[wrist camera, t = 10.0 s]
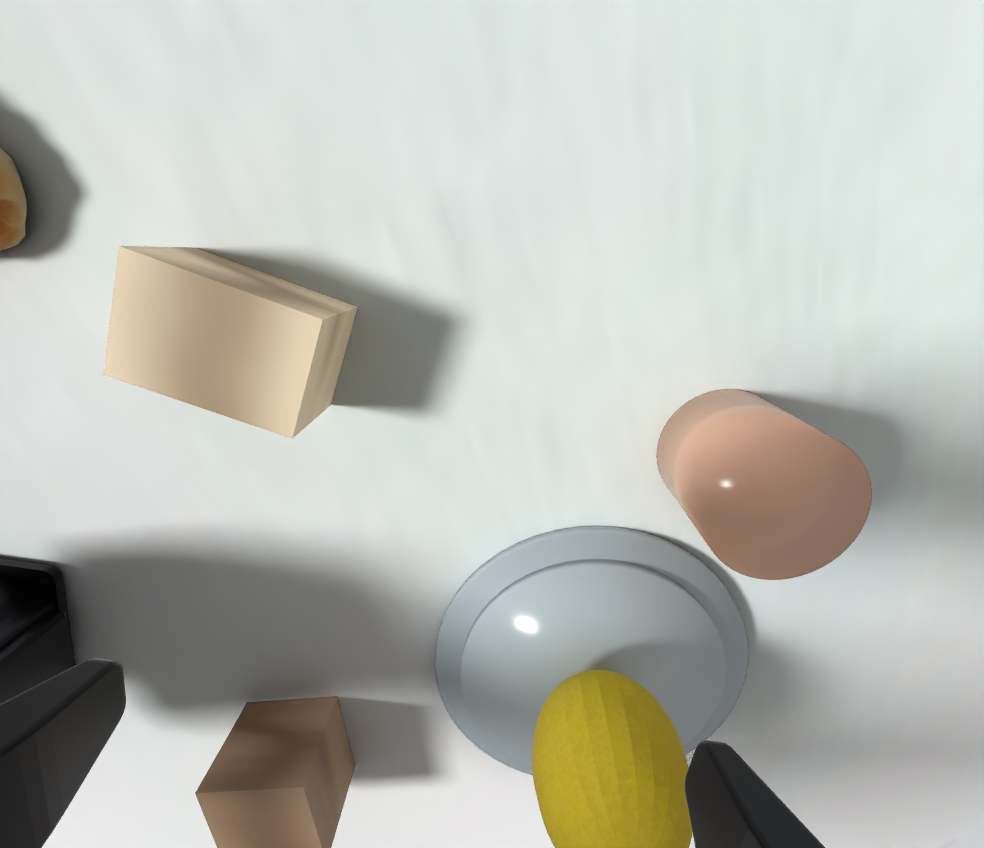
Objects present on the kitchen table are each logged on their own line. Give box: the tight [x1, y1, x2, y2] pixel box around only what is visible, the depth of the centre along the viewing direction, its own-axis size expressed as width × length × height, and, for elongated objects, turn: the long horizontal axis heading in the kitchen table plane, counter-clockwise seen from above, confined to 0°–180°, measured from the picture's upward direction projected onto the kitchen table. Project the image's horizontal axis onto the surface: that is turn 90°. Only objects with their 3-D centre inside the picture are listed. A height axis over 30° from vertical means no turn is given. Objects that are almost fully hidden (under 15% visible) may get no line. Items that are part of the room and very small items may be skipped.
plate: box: [435, 526, 748, 775], centre depth 23 cm, size 14×14×1 cm
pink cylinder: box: [656, 389, 872, 580], centre depth 18 cm, size 5×5×5 cm
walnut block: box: [195, 696, 355, 848], centre depth 23 cm, size 4×4×4 cm
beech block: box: [103, 246, 358, 438], centre depth 17 cm, size 6×4×4 cm, turn 70°
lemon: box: [532, 670, 692, 848], centre depth 19 cm, size 6×6×8 cm
